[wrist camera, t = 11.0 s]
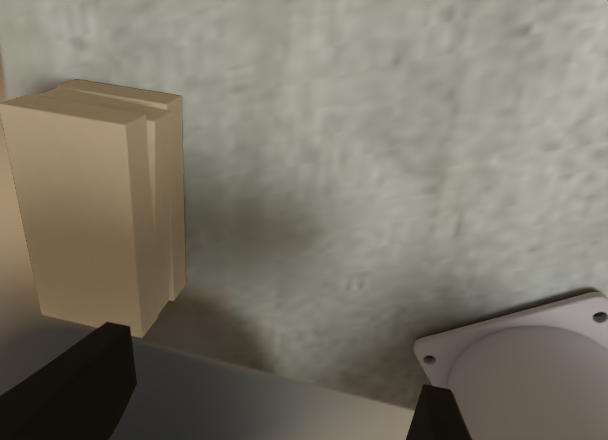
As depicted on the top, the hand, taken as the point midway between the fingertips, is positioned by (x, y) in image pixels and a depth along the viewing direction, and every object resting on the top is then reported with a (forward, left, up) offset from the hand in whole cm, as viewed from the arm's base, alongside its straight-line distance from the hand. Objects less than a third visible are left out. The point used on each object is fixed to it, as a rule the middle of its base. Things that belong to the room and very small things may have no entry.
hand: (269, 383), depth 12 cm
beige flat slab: (+5, +8, -7) cm, 11 cm away
